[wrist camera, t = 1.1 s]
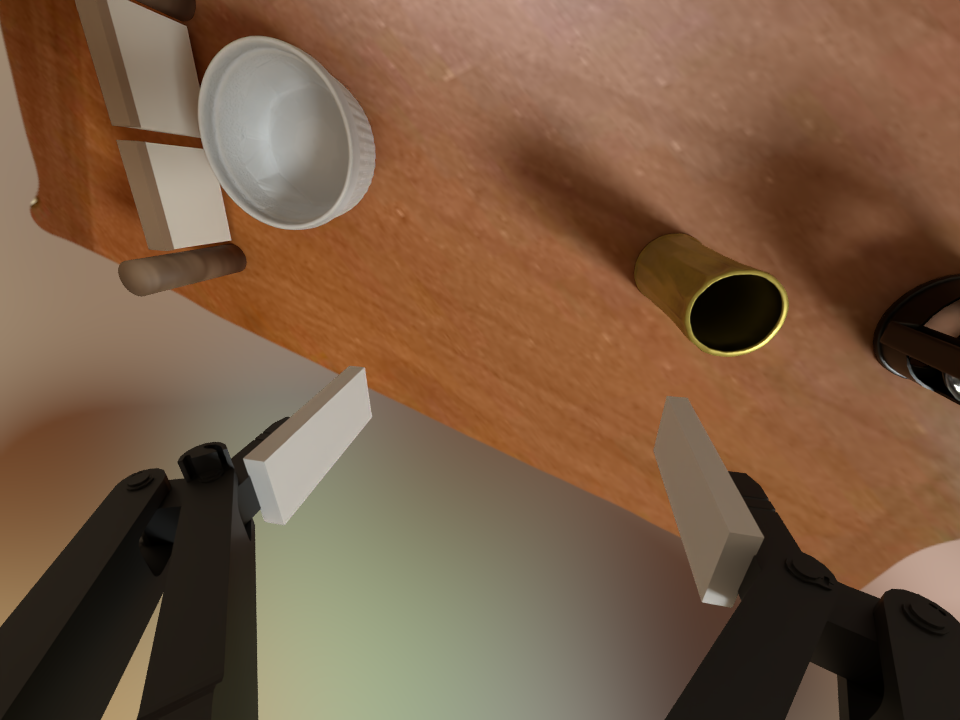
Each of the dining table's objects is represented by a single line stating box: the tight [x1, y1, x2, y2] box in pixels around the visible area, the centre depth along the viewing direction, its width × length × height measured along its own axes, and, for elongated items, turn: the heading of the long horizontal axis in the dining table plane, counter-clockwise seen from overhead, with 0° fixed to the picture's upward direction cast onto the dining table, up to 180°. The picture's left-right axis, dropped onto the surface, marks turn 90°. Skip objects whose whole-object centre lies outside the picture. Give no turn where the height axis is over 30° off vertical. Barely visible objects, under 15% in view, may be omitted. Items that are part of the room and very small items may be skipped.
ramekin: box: [198, 36, 376, 230], centre depth 33 cm, size 13×13×7 cm
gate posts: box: [118, 0, 246, 296], centre depth 33 cm, size 25×3×11 cm, turn 177°
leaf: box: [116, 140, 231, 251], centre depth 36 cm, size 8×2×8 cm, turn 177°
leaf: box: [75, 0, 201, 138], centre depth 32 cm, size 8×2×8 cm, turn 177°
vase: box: [634, 233, 789, 357], centre depth 28 cm, size 6×6×14 cm
